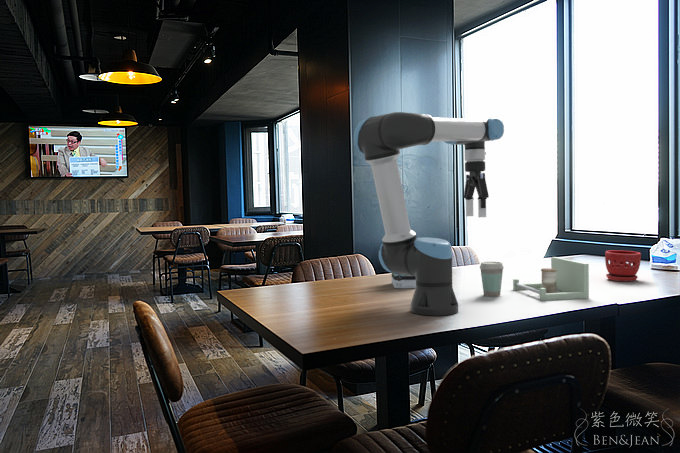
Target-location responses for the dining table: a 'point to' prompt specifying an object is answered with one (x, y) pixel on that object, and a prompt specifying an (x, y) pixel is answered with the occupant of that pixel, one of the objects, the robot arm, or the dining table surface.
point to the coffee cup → (491, 278)
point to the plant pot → (622, 265)
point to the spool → (549, 279)
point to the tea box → (403, 281)
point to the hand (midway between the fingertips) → (475, 216)
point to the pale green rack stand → (563, 281)
